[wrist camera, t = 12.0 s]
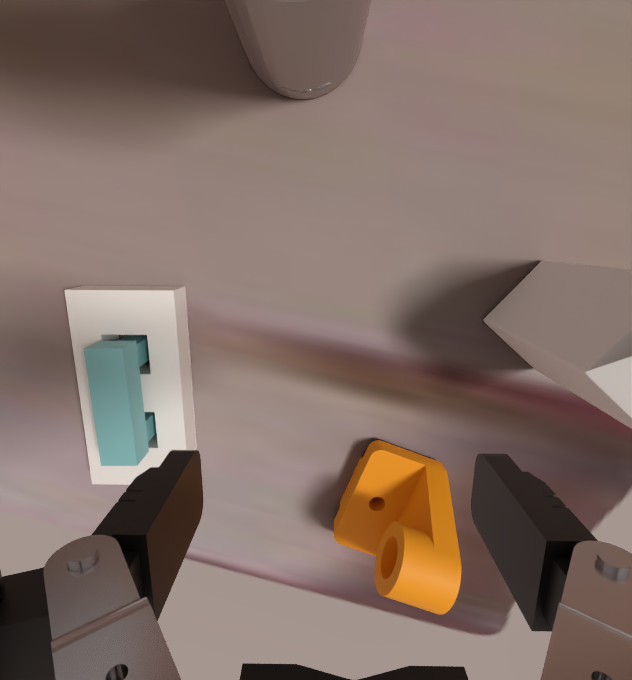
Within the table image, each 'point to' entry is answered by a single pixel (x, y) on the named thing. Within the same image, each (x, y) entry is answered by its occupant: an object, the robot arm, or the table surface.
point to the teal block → (119, 399)
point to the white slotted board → (156, 378)
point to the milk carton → (574, 330)
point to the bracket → (403, 526)
